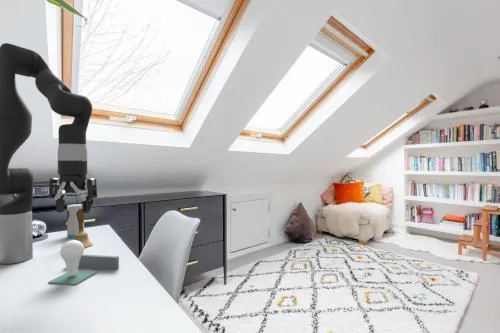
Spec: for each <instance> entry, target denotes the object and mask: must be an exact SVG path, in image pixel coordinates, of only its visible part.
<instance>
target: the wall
mask: <svg viewBox="0 0 500 333" xmlns="http://www.w3.org/2000/svg"><path fill="white" fill-rule="evenodd" d="M79 268H80V269H97V270H99V269H100V270H114V271H116V270H118V269H120V256H116V255H102V254H101V255H100V254H83V255H82V256H81V258H80V261H79V266H78V269H79Z"/></svg>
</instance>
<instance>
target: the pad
mask: <svg viewBox="0 0 500 333" xmlns="http://www.w3.org/2000/svg"><path fill="white" fill-rule="evenodd" d="M98 272H99V271H98V270H81V269H78V273H77V274H76V275H75V276H73V277H71V276H68V272H67V271H66V273H65V272H64V274H61V275H59V276H57V277H55V278H53V279H52V280H49V281H47V284H50V285H51V284H52V285H67V286H78V285H79V284H81V283H82V282H84V281H86V280H87V279H90V278H91V277H93V276H95V275H96V274H98Z"/></svg>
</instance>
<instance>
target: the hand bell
mask: <svg viewBox="0 0 500 333" xmlns="http://www.w3.org/2000/svg"><path fill="white" fill-rule="evenodd" d="M77 220H78V223H79V232H78V233H76V234H75V238H73V240H77V241H80V242H81V243H82V244H83V246H84V249H87V248H88V247H89V248H90V247H92V246H94V244H93V242H92V241H91V240H90V239H89V235H88V232H87V231H85V229H84V230H83V221H84V222H85V213H82V208H79V209H78V213H77Z"/></svg>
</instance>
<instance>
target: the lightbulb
mask: <svg viewBox="0 0 500 333" xmlns="http://www.w3.org/2000/svg"><path fill="white" fill-rule="evenodd" d="M59 251H60V252H59V253H60V257H61V259H62V260H63V261H64V264H65V266H66V267H65V268H66V270H67V271H66V273H67V272H68V276H71V277H73V276H75V275H76V274H77V273H78V270H79V268H78V266H79V261H80V258H81V256H82V255H84V252H85V248H84V246H83V244H82V243H81V242H80V241H77V240H74V239H72V240H68V241H65V243H64V244H63V245H62V246H61V248H60V249H59Z"/></svg>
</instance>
